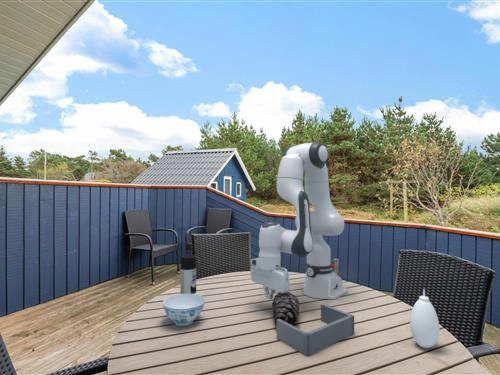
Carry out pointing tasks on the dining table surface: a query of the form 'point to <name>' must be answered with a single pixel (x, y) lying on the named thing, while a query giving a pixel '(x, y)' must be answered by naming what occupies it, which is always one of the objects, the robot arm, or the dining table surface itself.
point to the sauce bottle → (424, 322)
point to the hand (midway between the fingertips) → (269, 298)
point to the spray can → (188, 274)
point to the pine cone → (286, 308)
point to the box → (317, 331)
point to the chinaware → (183, 308)
